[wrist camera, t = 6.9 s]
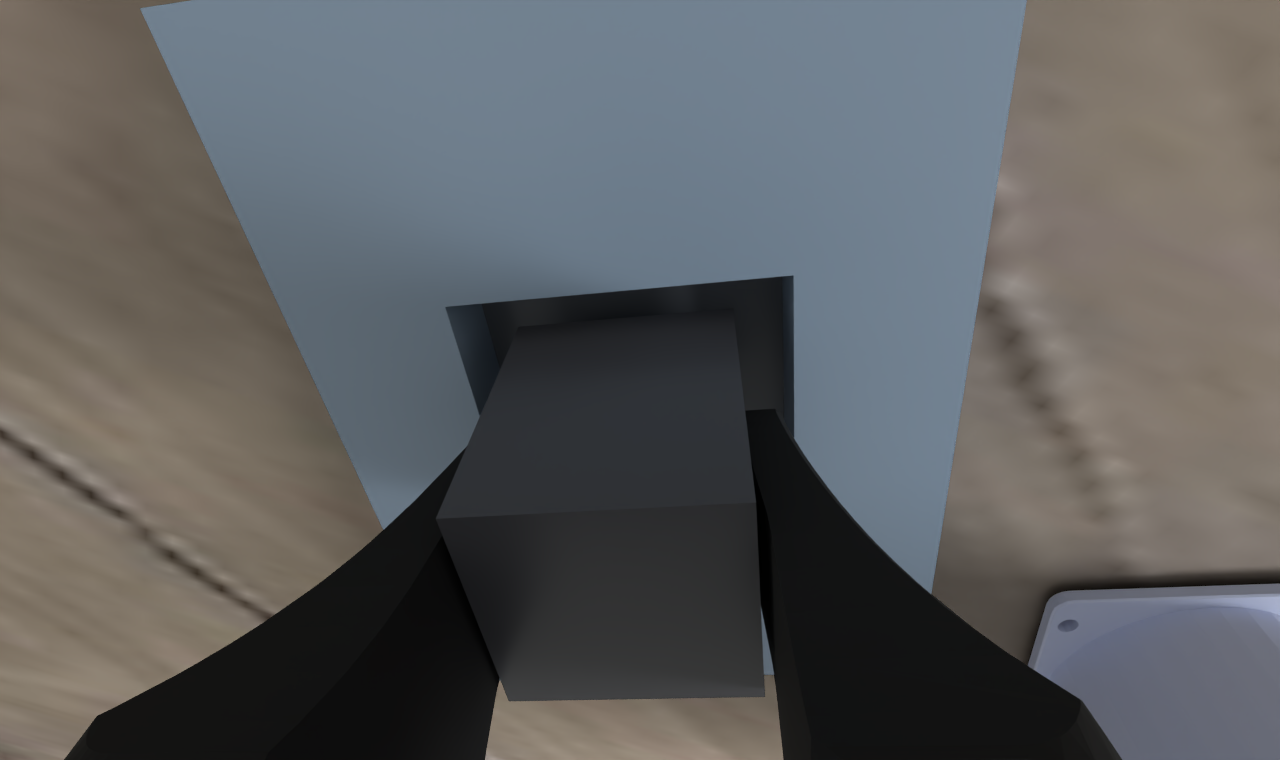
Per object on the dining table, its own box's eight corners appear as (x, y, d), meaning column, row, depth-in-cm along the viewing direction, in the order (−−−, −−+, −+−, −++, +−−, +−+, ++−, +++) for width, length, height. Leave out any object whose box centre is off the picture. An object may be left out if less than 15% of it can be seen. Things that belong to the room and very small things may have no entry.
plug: (742, 475, 14) (764, 696, 10) (558, 486, 15) (509, 701, 11) (732, 308, 12) (755, 502, 8) (518, 326, 13) (436, 518, 9)
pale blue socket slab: (893, 589, 19) (918, 671, 17) (478, 604, 20) (454, 681, 18) (973, -119, 10) (1047, -132, 8) (238, -5, 12) (139, 8, 9)
